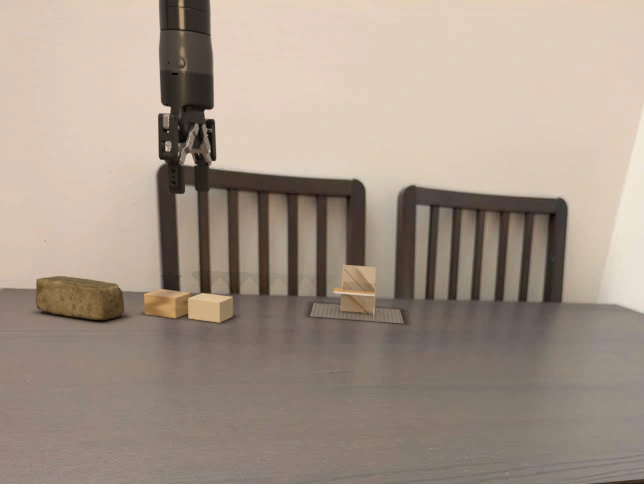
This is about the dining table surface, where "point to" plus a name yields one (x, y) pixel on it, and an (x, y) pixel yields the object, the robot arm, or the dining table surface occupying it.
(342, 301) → the architectural model
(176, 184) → the robot arm
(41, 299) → the stone block
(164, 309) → the birch block
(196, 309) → the cream block
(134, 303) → the dining table surface
